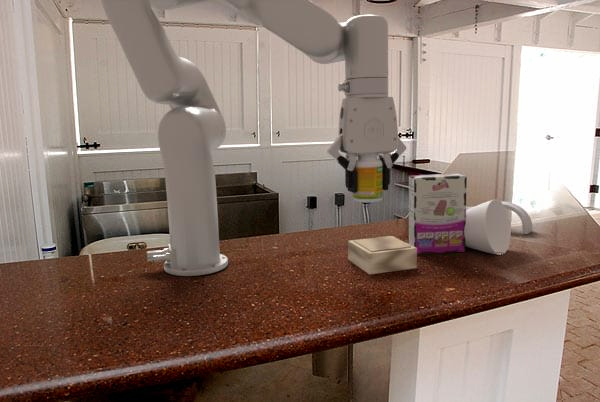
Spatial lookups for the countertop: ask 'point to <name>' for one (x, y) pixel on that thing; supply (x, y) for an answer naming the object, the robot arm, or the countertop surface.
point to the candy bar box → (437, 213)
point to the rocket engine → (488, 227)
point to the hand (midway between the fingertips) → (367, 189)
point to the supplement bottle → (368, 179)
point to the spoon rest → (520, 212)
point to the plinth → (382, 254)
